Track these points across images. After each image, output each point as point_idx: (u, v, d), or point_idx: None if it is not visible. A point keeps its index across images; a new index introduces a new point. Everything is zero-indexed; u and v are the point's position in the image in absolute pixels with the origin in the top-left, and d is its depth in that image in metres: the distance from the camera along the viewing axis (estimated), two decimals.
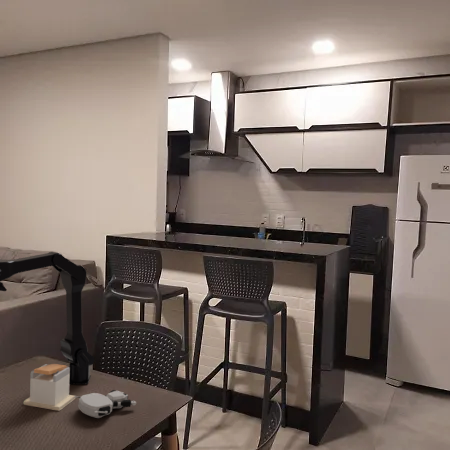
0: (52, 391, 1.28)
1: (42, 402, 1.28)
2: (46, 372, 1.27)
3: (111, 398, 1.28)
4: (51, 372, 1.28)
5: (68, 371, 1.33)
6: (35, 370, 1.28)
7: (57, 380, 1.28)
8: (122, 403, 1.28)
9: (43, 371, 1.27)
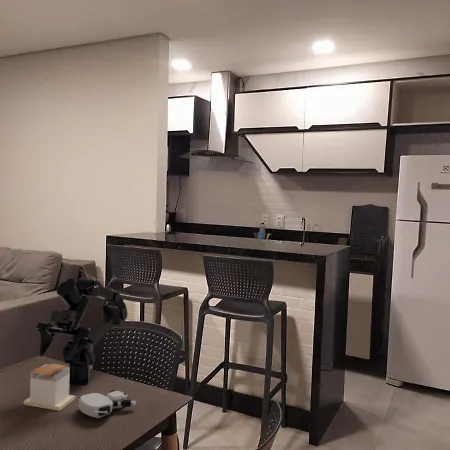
0: (52, 391, 1.28)
1: (42, 402, 1.28)
2: (46, 372, 1.27)
3: (111, 398, 1.28)
4: (51, 372, 1.28)
5: (68, 371, 1.33)
6: (35, 370, 1.28)
7: (57, 380, 1.28)
8: (122, 403, 1.28)
9: (43, 371, 1.27)
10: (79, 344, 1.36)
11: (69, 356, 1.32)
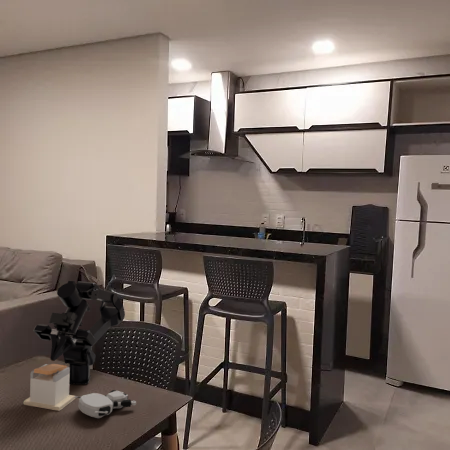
0: (52, 391, 1.28)
1: (42, 402, 1.28)
2: (46, 372, 1.27)
3: (111, 398, 1.28)
4: (51, 372, 1.28)
5: (68, 371, 1.33)
6: (35, 370, 1.28)
7: (57, 380, 1.28)
8: (122, 403, 1.28)
9: (43, 371, 1.27)
10: (65, 345, 1.36)
11: (55, 357, 1.32)
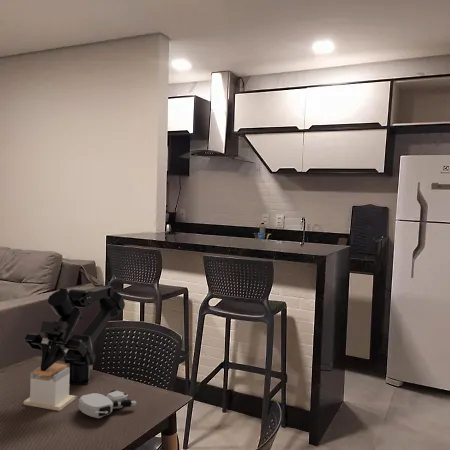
0: (52, 391, 1.28)
1: (42, 402, 1.28)
2: (46, 373, 1.27)
3: (111, 398, 1.28)
4: (51, 373, 1.28)
5: (68, 371, 1.33)
6: (35, 371, 1.28)
7: (57, 380, 1.28)
8: (122, 403, 1.28)
9: (43, 372, 1.27)
10: (56, 355, 1.31)
11: (45, 367, 1.28)
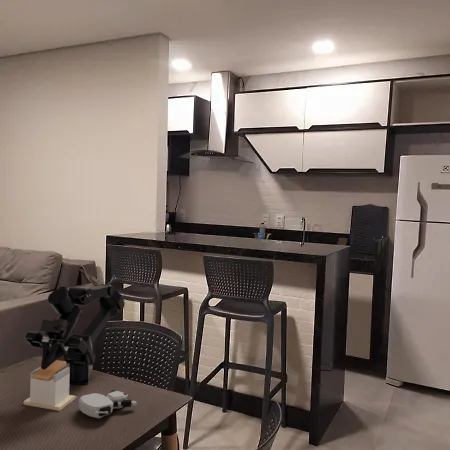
0: (52, 391, 1.28)
1: (42, 402, 1.28)
2: (45, 377, 1.27)
3: (111, 398, 1.28)
4: (51, 376, 1.28)
5: (68, 371, 1.33)
6: (34, 375, 1.27)
7: (57, 380, 1.28)
8: (122, 403, 1.28)
9: (42, 376, 1.27)
10: (57, 353, 1.32)
11: (45, 365, 1.28)
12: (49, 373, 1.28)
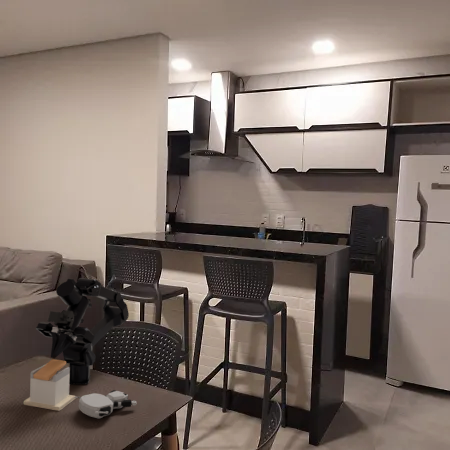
0: (52, 391, 1.28)
1: (42, 402, 1.28)
2: (45, 378, 1.27)
3: (111, 398, 1.28)
4: (51, 376, 1.28)
5: (68, 371, 1.33)
6: (34, 376, 1.27)
7: (57, 380, 1.28)
8: (122, 403, 1.28)
9: (42, 377, 1.27)
10: (66, 342, 1.37)
11: (55, 355, 1.34)
12: (49, 374, 1.28)
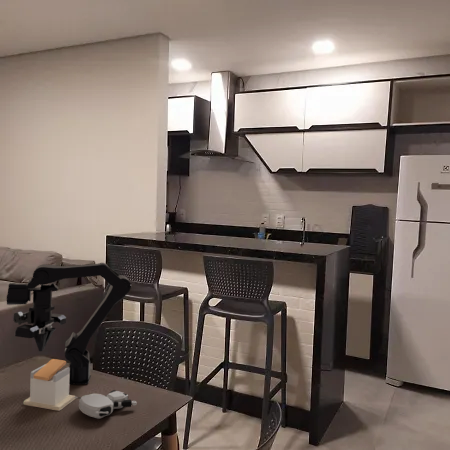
0: (52, 391, 1.28)
1: (42, 402, 1.28)
2: (45, 378, 1.27)
3: (111, 398, 1.28)
4: (51, 376, 1.28)
5: (68, 371, 1.33)
6: (34, 376, 1.27)
7: (57, 380, 1.28)
8: (123, 403, 1.28)
9: (42, 377, 1.27)
10: (40, 335, 1.41)
11: (39, 348, 1.43)
12: (49, 374, 1.28)
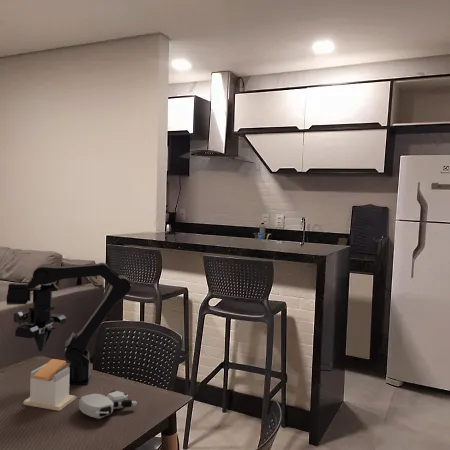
0: (52, 391, 1.28)
1: (42, 402, 1.28)
2: (45, 378, 1.27)
3: (112, 398, 1.28)
4: (51, 376, 1.28)
5: (68, 371, 1.33)
6: (34, 376, 1.27)
7: (57, 380, 1.28)
8: (123, 403, 1.28)
9: (42, 377, 1.27)
10: (40, 335, 1.41)
11: (39, 348, 1.43)
12: (49, 374, 1.28)
